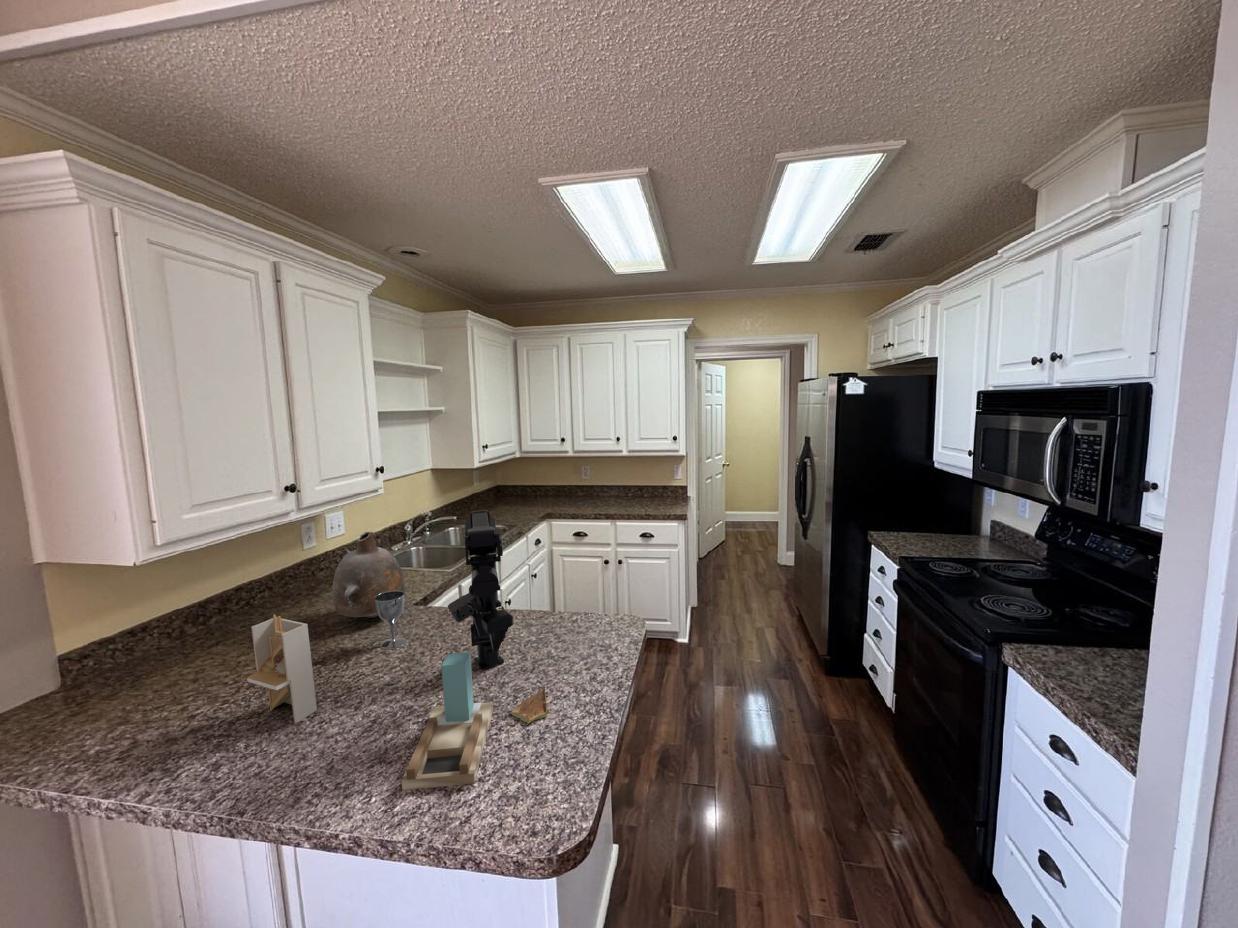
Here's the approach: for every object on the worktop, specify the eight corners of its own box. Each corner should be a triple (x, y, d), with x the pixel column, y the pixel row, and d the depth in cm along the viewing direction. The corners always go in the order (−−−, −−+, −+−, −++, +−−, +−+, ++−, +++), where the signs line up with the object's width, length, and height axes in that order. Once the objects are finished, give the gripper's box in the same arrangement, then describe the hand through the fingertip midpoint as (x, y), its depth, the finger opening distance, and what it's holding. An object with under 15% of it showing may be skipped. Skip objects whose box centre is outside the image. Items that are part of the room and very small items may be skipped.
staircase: (284, 701, 119) (272, 601, 116) (317, 711, 115) (305, 608, 111) (250, 721, 112) (236, 615, 108) (283, 732, 107) (270, 623, 104)
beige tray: (435, 714, 112) (433, 698, 111) (492, 709, 113) (491, 693, 112) (402, 790, 90) (400, 770, 89) (474, 783, 91) (472, 763, 91)
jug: (341, 609, 171) (332, 526, 167) (407, 598, 179) (400, 519, 176) (330, 640, 149) (320, 545, 145) (406, 626, 157) (398, 535, 153)
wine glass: (407, 646, 144) (403, 598, 142) (377, 652, 141) (373, 602, 139) (408, 635, 151) (404, 588, 149) (380, 640, 148) (375, 593, 146)
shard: (544, 692, 120) (544, 686, 120) (567, 703, 115) (567, 696, 115) (510, 716, 111) (509, 708, 111) (533, 728, 107) (533, 721, 107)
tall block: (451, 707, 111) (447, 653, 109) (473, 705, 111) (470, 652, 110) (445, 721, 106) (441, 665, 104) (469, 719, 106) (465, 663, 105)
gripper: (438, 578, 118) (443, 639, 120) (463, 602, 103) (468, 671, 105) (483, 568, 125) (486, 626, 127) (512, 590, 110) (516, 655, 112)
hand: (488, 643), depth 117 cm, fingers open, 9 cm apart
